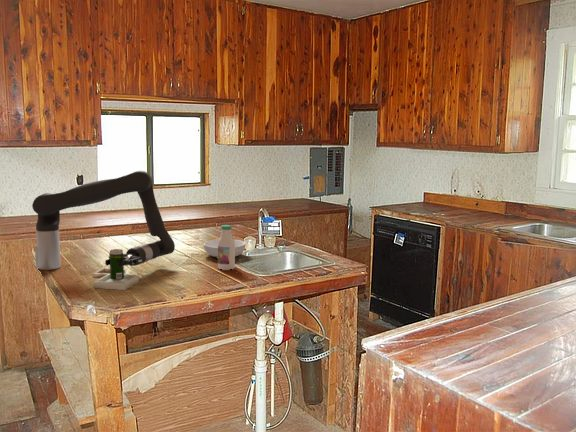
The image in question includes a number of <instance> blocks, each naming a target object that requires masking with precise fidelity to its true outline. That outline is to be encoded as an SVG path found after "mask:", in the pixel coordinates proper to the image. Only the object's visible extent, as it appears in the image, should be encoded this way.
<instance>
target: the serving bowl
mask: <svg viewBox="0 0 576 432" xmlns="http://www.w3.org/2000/svg"><path fill="white" fill-rule="evenodd" d="M219 239H220V238H218V239H217V238H216V239H210V240H207V241H205V242H204V243H203V249H204V251H205V252H206V253H207V254H208V255H209V256H211V257H213V258H217V257H218V242H219ZM233 239H234V238H233ZM234 243H235V257H237V256H240V255H242V254H243V253H244V250H245V248H246V245H247V243H246V241H243V240H240V239H234Z"/></svg>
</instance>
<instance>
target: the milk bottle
mask: <svg viewBox="0 0 576 432" xmlns="http://www.w3.org/2000/svg"><path fill="white" fill-rule="evenodd" d="M220 227H221V233H220V237H219V238H218V239H219V242H218V258H217V268H219V269H218V270H220V269H222V270H221V271H231V270H230V269H232V270H235V267H236V265H235V263H236V256H235V243H234V238H233V235H232V224H231V225H230V224H222V225H221V226H220Z"/></svg>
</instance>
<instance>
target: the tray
mask: <svg viewBox="0 0 576 432" xmlns="http://www.w3.org/2000/svg"><path fill="white" fill-rule="evenodd" d="M107 274H108V275H106V276H104V277H102V278H100V277H99V279H96V280H95V281H93V288H95V289H104V290H105V289H106V290H119V291H126V290H128V289H130V288H131V287H132V286H134V285H135V284H137V283H139V282H140V275H139V274H126V273H124V279H123V280H121V281H112V280H111V279H110V272H108V273H107Z"/></svg>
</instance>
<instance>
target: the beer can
mask: <svg viewBox="0 0 576 432" xmlns="http://www.w3.org/2000/svg"><path fill="white" fill-rule="evenodd" d="M123 254H124V252H123V249H120V248H115V249H114V248H113V249H110V250H109V254H108V255H109V256H108V259H110V265H109V268H110V272H109V273H110V279H111V280H112V281H121V280H123V279H124V274H125V273H124V269H125V266H122V267H118V266H117V263H118V262H119V261H122V260H123Z"/></svg>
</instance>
